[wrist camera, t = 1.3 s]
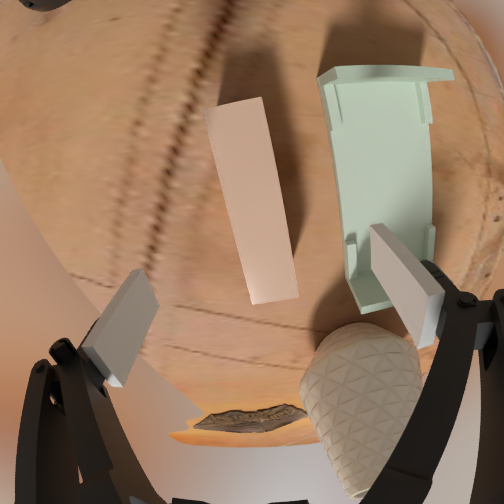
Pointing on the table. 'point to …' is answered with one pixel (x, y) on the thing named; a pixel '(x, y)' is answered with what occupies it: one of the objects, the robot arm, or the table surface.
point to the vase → (361, 399)
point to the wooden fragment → (253, 420)
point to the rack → (380, 163)
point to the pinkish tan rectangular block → (253, 197)
